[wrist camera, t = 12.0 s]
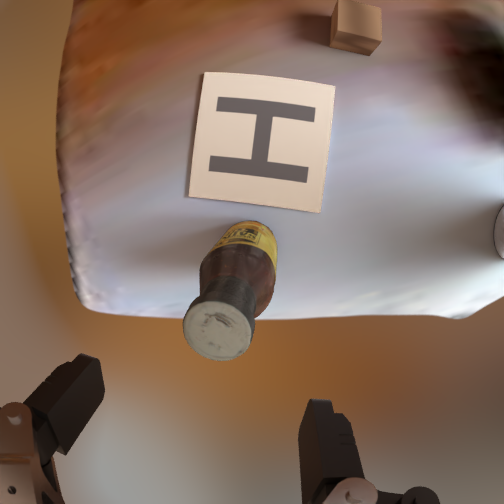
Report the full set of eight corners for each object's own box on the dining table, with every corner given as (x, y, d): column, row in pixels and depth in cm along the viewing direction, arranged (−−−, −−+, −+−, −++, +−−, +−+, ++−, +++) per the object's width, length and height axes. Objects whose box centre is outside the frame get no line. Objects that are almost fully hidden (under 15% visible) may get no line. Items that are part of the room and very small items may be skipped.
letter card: (334, 87, 30) (335, 86, 29) (319, 212, 34) (320, 213, 33) (205, 73, 30) (204, 72, 30) (189, 196, 34) (188, 196, 34)
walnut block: (369, 25, 27) (380, 8, 22) (369, 56, 29) (382, 41, 24) (331, 16, 27) (338, -3, 23) (329, 47, 29) (337, 30, 24)
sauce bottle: (259, 208, 34) (244, 251, 15) (286, 255, 35) (302, 346, 16) (211, 237, 35) (145, 308, 16) (239, 281, 36) (206, 387, 17)
